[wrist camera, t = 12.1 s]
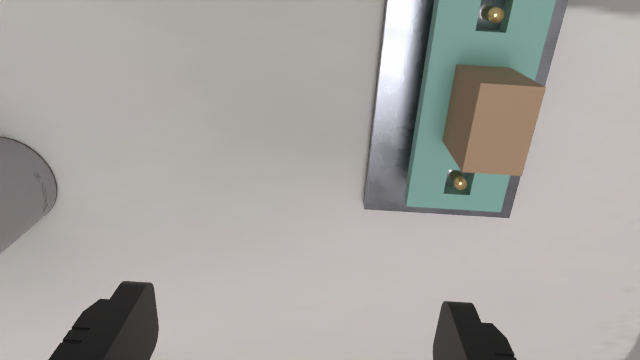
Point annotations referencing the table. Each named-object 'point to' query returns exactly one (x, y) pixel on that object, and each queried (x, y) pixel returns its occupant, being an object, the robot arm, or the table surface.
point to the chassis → (403, 97)
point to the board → (436, 90)
